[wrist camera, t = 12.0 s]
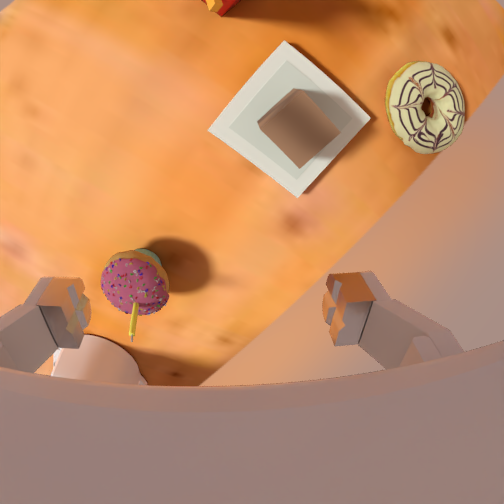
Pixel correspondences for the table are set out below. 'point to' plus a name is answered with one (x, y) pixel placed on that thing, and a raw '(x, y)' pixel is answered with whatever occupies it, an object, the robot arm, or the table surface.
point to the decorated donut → (410, 101)
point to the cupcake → (135, 284)
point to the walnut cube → (298, 127)
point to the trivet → (271, 92)
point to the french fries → (220, 5)
